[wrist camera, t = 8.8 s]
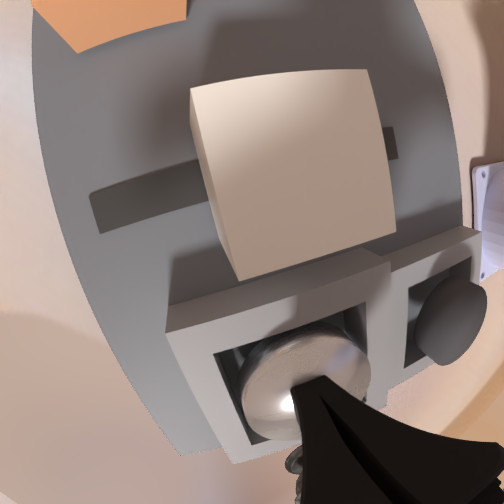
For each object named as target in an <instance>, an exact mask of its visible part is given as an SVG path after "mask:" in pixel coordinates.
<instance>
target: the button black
mask: <svg viewBox="0 0 504 504" xmlns="http://www.w3.org/2000/svg"><path fill="white" fill-rule="evenodd" d="M486 308H487V296H486V292H485V290H484V289H483V288H482V287H481V286H479V285H477V284H475V283H473V282H471V281H468V280H466V279H464V278H462V277H460V276H450V277H447V278H446V279H444V280H443V281H441V282H440V283H439V284H438V285H437V286H436V287H435V288H434V289H433V290H432V291H431V293H430V294H429V295H428V297H427V299H426V300H425V302H424V304H423V305H422V308H421V310H420V312H419V315H418V317H417V320H416V324H415V330H414V340H415V344H416V346H417V347H418V348H419V349H420V350H421V351H422V352H423V353H425V354H426V355H427V356H428V357H429V358H431V359H432V360H433V361H434V362H435V363H437V364H438V365H441V366H444V365H448V364H451V363H452V362H454V361H456V360H457V359H458V358H460V357H461V356H462V355H463V354H464V353H465V352H466V351H467V349H468V348H469V347H470V346H471V344H472V343H473V341H474V340H475V338H476V336H477V335H478V333H479V331H480V328H481V326H482V324H483V321H484V318H485V314H486Z"/></svg>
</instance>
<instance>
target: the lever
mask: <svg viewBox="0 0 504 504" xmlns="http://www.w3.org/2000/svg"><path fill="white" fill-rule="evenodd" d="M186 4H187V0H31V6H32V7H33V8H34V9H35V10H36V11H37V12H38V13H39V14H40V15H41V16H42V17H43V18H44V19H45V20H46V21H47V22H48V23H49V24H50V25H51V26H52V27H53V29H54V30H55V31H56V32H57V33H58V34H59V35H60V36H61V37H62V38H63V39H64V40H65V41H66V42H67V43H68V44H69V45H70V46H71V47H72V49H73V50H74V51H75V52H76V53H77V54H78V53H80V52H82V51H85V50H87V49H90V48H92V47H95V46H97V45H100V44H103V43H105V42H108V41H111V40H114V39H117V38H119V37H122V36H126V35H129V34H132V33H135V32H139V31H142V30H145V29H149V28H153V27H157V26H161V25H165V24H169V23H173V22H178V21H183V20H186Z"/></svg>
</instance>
